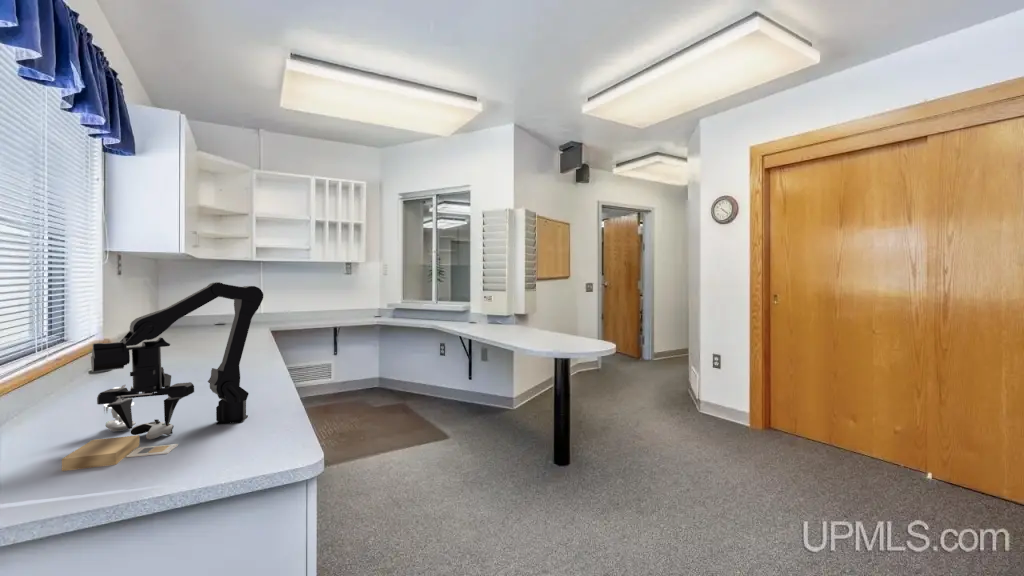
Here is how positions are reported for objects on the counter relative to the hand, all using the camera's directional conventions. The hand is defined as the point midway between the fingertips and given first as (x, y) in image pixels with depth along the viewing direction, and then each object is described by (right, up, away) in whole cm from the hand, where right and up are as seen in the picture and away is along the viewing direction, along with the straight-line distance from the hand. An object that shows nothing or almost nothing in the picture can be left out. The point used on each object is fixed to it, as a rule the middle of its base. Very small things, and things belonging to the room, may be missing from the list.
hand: (148, 426), depth 114 cm
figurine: (-13, -3, +6) cm, 15 cm away
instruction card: (+8, -3, -9) cm, 13 cm away
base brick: (0, -4, -13) cm, 13 cm away
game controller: (-1, -4, -1) cm, 4 cm away
